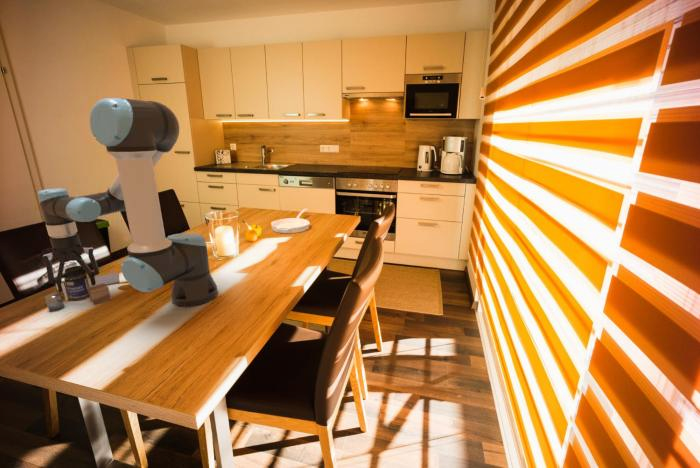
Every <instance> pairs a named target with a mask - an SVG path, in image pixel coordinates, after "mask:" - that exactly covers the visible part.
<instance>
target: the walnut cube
mask: <svg viewBox="0 0 700 468" xmlns="http://www.w3.org/2000/svg"><path fill="white" fill-rule="evenodd" d="M87 290H88V294H89V297H88V298H89V301H90V302H91V303H92V304H93V305H94V306H97V305H99V304H103V303H106V302H109V301H111V300H112V296H111V293H110V288H109V285H108V286H107V285H106V284H105V283H102V284H99V285H95V286H92V287H88V288H87Z"/></svg>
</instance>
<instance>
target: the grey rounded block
mask: <svg viewBox="0 0 700 468" xmlns="http://www.w3.org/2000/svg"><path fill="white" fill-rule="evenodd" d="M61 293H62V292H53V293H48V294H47V295H45V296H44V300H45V302H46V306H47V309H48V312H50V313H56V312H60V311H61V310H63V309H65V304H64V300H63V296H62V294H61Z"/></svg>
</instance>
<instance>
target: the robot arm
mask: <svg viewBox="0 0 700 468" xmlns="http://www.w3.org/2000/svg"><path fill="white" fill-rule="evenodd" d="M89 129H90V131H91V133H92V137H95V140H96V141H97V142H98V143H99V144H101V145H102V146H105V149H106V152H107V153H108V154H109V155H111V157H113V158H114V159H115V163H116V168H117V174H116V176H115V177H114V179H113V181H112V182H111V184H110V185H109V187H108V188H107V190H105V191H103V192H97V193H92V194H86V195H81V196H70V194H69V192H68V190H66V189H65V188H61V187H59V188H58V187H57V188H46V189H42V190H39V191H38V192H37V198H38V204H39V206H40V210H41V212H42V213H41V214H42V216H43V220H44V223H45V227H46V230H47V233H48V234H47V235H48V236H49V241H50V244H51V249H52V250H51V251H52V252H50V253H45V254H43V255H42V260H43V261H44V263H45V268H46V274H47V281H48V283H49V284H55V285H56V284H57V286H58V290H59V291H58V290H57V291H58V293H63V296H64V299H65V301H67V302H68V301H69V300H70V298H69V295H68V291H67V287H66V284H65V280H64V281H61V280H62V278H63V274H64V270H65V269H64V268H65V263H68V262H75V261H76V262H77V263H78V264H79V266H81V267H82V269H83V272H84V273H86V275H87V280H88V284H89V287H92V286H93V285H95V284H96V281H95V277H96V276H97V275H98V276H99V274H100V269H99V268H100V267H99V265H98V263H97V260H96V257H95V255H94V246H93V247H92V246H90V247H84V246H83V245H82V243H81V240H80V235H79V233H77V232H78V228H77V224H76V222H81V223H84V222H85V223H86V222H87V223H89V222H93V221H95V220H96V219H98V218H99V217H102V216H106V215H110V214H115V213H119V212H125V213H126V219H127V222H128V227H129V233H130V238H131V243H130V244H129V245H128V246H127V248H126V249H127V253H128V257H126V258H125V259H124V260H123V261H122V263H121V265H120V270H121V273H122V276H123V277H124V279H125V281H126V283H128V284H129V285H130V286H131V287H132V288H133V289H135V290H137V291H139V292H144V293H149V292H150V293H151V292H153V291H155V290H157V289H158V290H159V289H161V288H163V287H164V286H165V285H167V284H169V283H172V282H173V283H172V286H171V287H172V288H171V293H170V298H171V299H170V300H171V302H172V304H173V305H174V306H177V307H184V308H186V307H188V308H189V307H195V306H196V307H197V306H199V305H203V304H206V303H209V302H210V301H212V300H214V299H215V298H216V297H217V296H218V293H219V290H218V285H217V284H216V282H215V280H214V278H213V275H212V274H211V271H210V270H211V269H210V263H209V257H208V255H209V254H208V248H207V247H208V245H207V241H206V238H205V237H204V235H202V234H200V233H193V232H183V233H175V234H171V235H168V236H167V237H166V234H165V228H164V221H163V217H162V216H163V215H162V211H161V204H160V198H159V197H160V196H159V193H158V192H159V191H158V185H157V181H156V180H157V179H156V174H155V167H156V165H157V164H158V163H159V161H160V160H161V158H162V156H163V155H164V154H166V153H169V152H170V151H171V150H172V149H173V147H174V146H175V145H176V143H177V141H178V139H179V136H180V135H179V134H180V123H179V120H178V118H177V116H176V114H175V112H173V111H172V110H171V108H170V107H168V106H166V105H165V104H163V103H161V102H158V101H154V100H152V101H151V100H140V99H131V98H123V97H110V98H109V97H106V98H102V99H99V100H98V101H97V102H95V104H94V106H93V108H92V109H91V111H90V115H89ZM83 252H85V254H86V255H88V259H89V261H90V264H91V266H92V269H93V270H92V269H91V268H90V266H89V265H88V264H87V262H86V261H85V260H84V258H83V256H82V254H83ZM53 257H55V258H56V259H58V260H59V264H58V269H57V275H56V277H55V276H54V275H55V274H54V269H53V262H52V260H53Z"/></svg>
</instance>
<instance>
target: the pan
mask: <svg viewBox="0 0 700 468" xmlns="http://www.w3.org/2000/svg"><path fill="white" fill-rule="evenodd" d="M308 210H309V209H308V208H303V209H302V210H300V212H299V213H298V215H296V217H290V218H288V217H287V218H280V219H276V220H273V221H271V222H270V225H271V230H272V231H273V232H275V233H278V234H297V233H302V232H305V231H307V230H309V228H310V224H311V223H310V221H309V220H308V219H305V218H302V217H301V216H302V215H303V213H305V212H307V211H308Z"/></svg>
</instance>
